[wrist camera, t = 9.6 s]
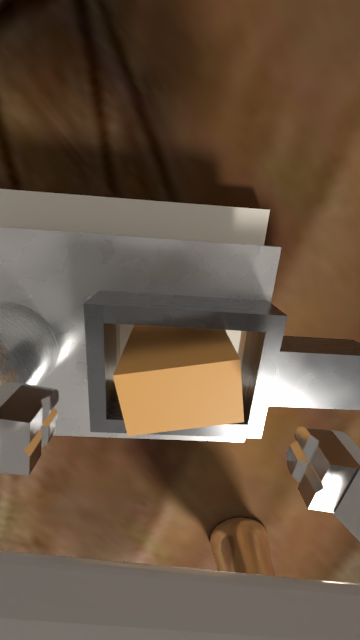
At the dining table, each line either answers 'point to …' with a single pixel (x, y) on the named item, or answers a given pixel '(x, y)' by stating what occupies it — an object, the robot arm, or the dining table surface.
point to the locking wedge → (178, 380)
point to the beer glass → (241, 547)
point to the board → (134, 222)
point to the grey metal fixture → (154, 310)
